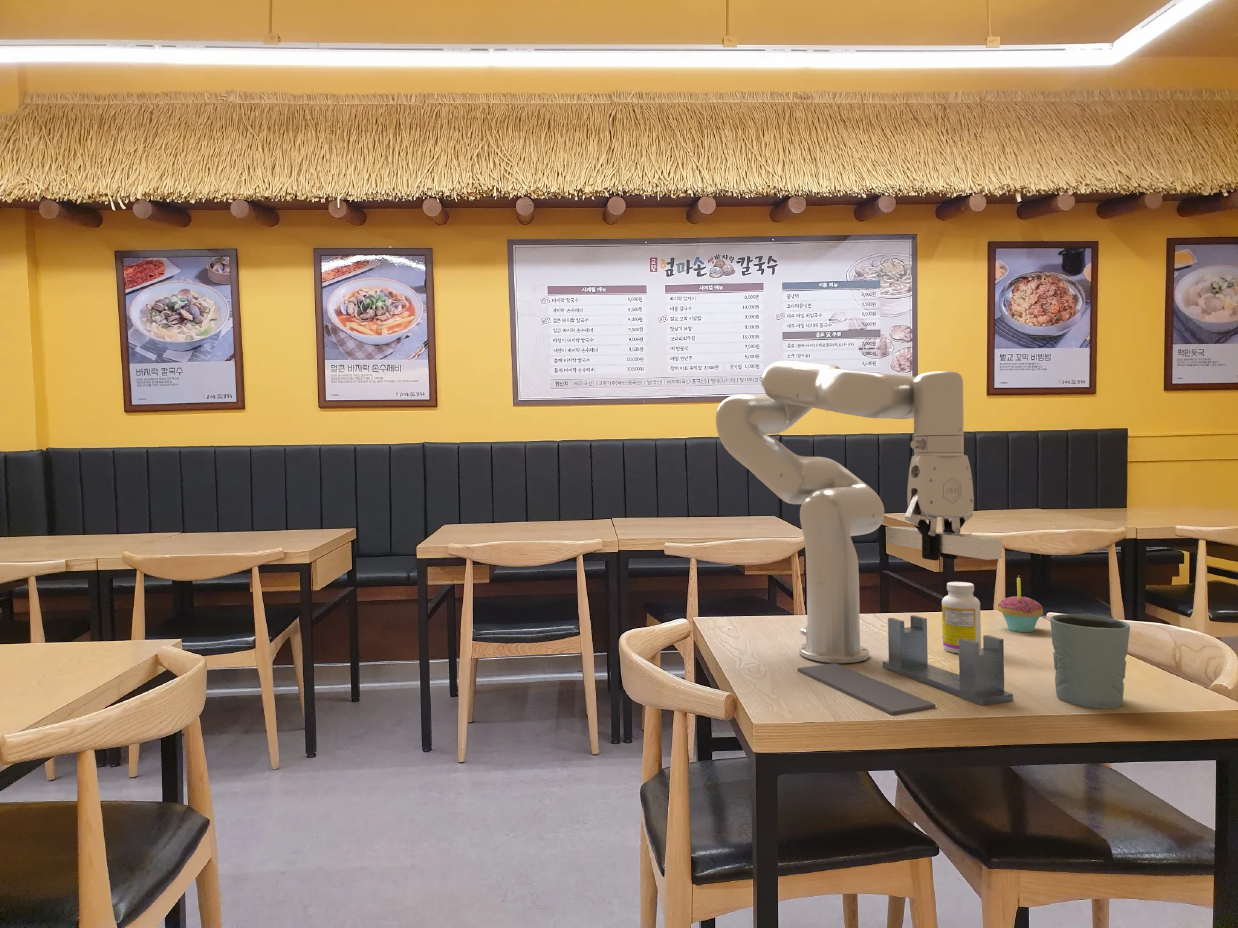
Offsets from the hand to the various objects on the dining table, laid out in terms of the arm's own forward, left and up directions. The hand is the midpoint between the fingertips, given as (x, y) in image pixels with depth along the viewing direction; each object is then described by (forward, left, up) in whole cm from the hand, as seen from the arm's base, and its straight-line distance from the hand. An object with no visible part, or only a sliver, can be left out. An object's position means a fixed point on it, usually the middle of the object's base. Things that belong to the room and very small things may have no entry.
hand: (939, 557), depth 120 cm
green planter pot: (+15, +14, -21) cm, 29 cm away
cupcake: (-22, +42, -21) cm, 52 cm away
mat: (-3, -14, -21) cm, 25 cm away
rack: (0, 0, -21) cm, 21 cm away
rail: (0, 0, +1) cm, 1 cm away
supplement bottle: (-14, +18, -21) cm, 31 cm away
